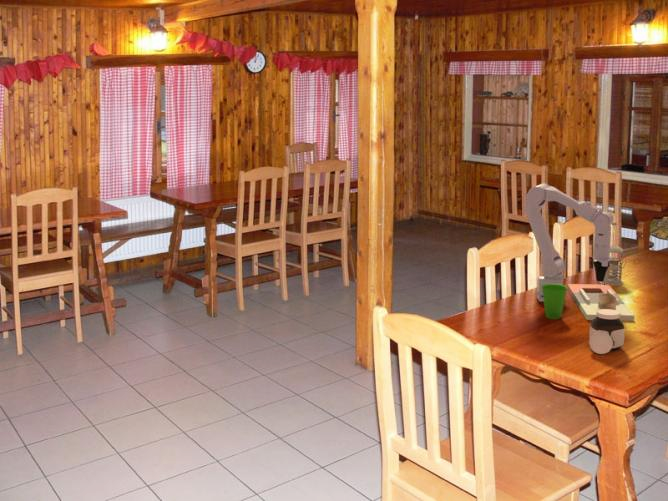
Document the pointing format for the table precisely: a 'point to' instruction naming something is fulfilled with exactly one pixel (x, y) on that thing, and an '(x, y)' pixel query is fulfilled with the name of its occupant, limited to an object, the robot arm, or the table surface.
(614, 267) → the french press
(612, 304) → the maple block
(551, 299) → the cup
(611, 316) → the spread jar
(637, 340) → the table surface
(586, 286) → the chute board
